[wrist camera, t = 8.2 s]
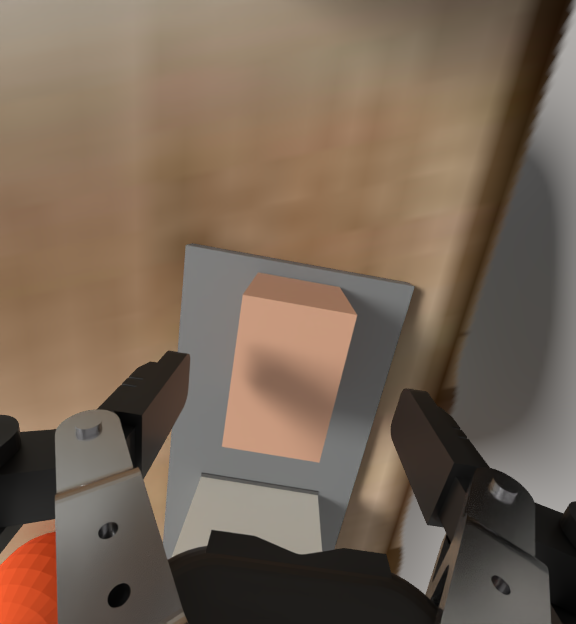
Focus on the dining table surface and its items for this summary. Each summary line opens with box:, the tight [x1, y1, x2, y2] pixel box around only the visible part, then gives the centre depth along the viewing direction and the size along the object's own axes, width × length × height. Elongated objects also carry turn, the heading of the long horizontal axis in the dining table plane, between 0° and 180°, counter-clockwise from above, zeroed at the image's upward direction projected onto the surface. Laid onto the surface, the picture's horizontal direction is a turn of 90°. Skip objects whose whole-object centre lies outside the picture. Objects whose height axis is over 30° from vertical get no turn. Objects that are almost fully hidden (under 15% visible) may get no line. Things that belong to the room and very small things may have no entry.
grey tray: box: [163, 243, 415, 559], centre depth 20 cm, size 27×14×7 cm, turn 170°
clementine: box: [0, 532, 58, 624], centre depth 24 cm, size 8×7×7 cm
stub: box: [222, 272, 357, 462], centre depth 17 cm, size 8×5×6 cm, turn 170°
